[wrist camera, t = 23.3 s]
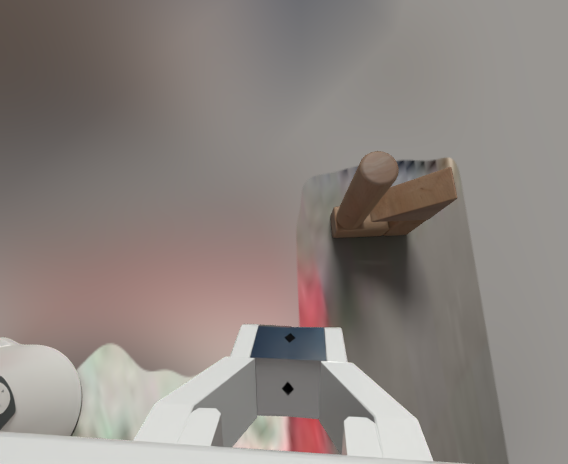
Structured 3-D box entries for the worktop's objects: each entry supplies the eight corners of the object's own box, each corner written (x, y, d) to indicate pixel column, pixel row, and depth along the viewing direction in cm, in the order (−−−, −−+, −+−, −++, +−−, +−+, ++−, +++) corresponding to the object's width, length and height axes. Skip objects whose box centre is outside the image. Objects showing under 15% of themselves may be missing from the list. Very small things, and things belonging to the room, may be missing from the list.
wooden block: (407, 235, 46) (481, 182, 28) (332, 238, 46) (360, 187, 28) (403, 211, 47) (472, 145, 29) (329, 214, 47) (356, 150, 29)
